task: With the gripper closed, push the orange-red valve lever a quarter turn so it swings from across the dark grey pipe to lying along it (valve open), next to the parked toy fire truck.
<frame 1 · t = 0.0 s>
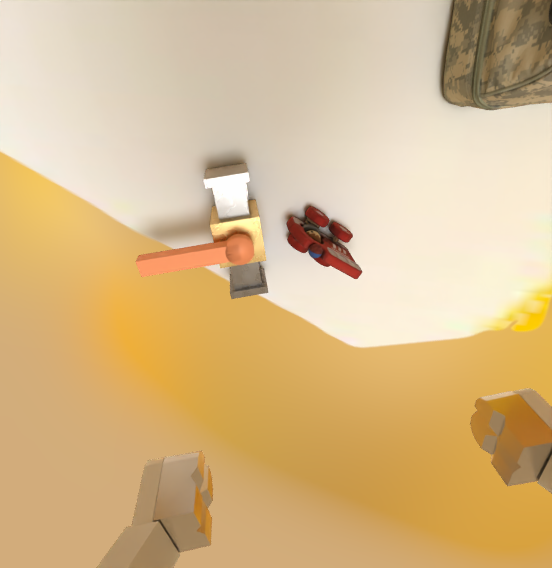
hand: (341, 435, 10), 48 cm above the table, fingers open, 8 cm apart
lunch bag: (530, 27, 47), on the table
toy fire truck: (316, 231, 59), on the table
pipe valve: (237, 223, 57), on the table
lever: (197, 256, 48), point 10 cm above the table, hinge at -90.0°
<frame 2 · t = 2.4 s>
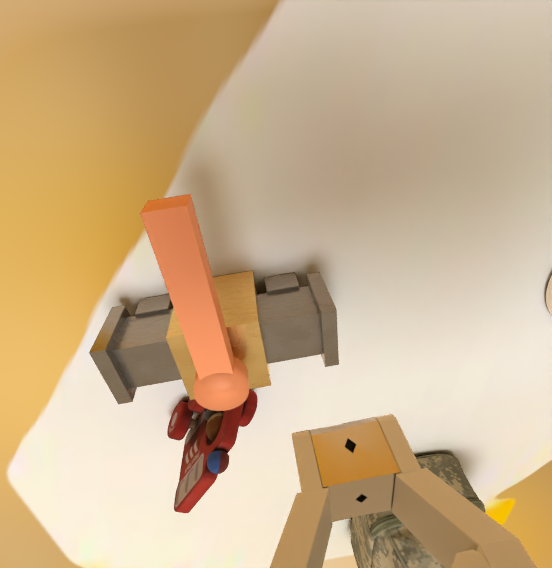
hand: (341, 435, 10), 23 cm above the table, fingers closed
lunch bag: (399, 494, 59), on the table
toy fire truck: (213, 397, 41), on the table
pipe valve: (223, 306, 34), on the table
lever: (202, 319, 23), point 10 cm above the table, hinge at -90.0°
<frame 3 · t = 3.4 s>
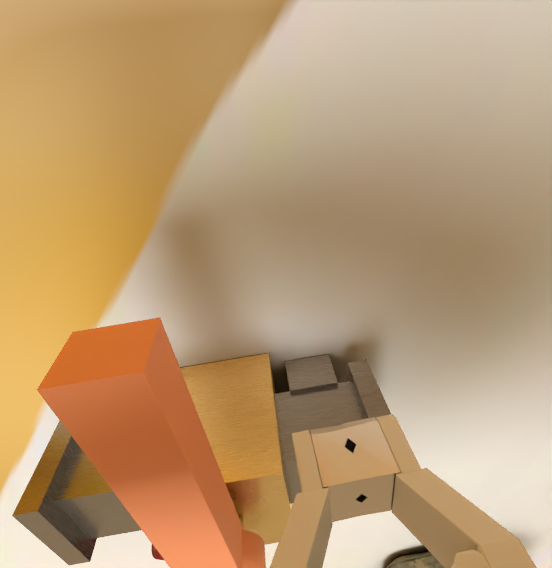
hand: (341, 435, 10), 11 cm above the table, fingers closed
pipe valve: (226, 396, 24), on the table
lever: (189, 506, 13), point 10 cm above the table, hinge at -90.0°
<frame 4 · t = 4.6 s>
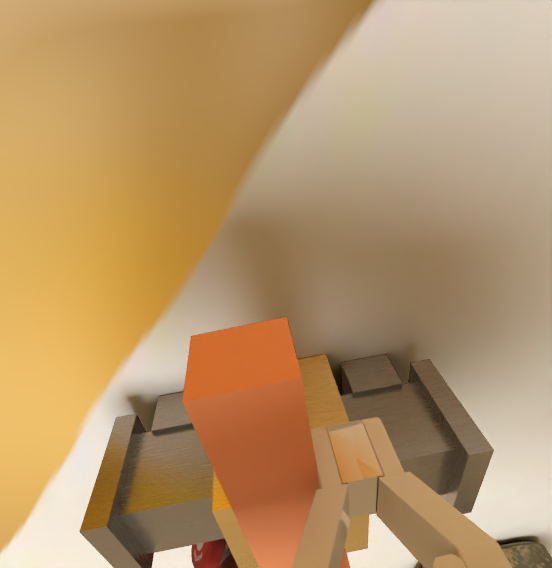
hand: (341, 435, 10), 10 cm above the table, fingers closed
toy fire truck: (251, 500, 31), on the table
pipe valve: (278, 400, 24), on the table
lever: (288, 520, 12), point 10 cm above the table, hinge at -88.4°, touching gripper
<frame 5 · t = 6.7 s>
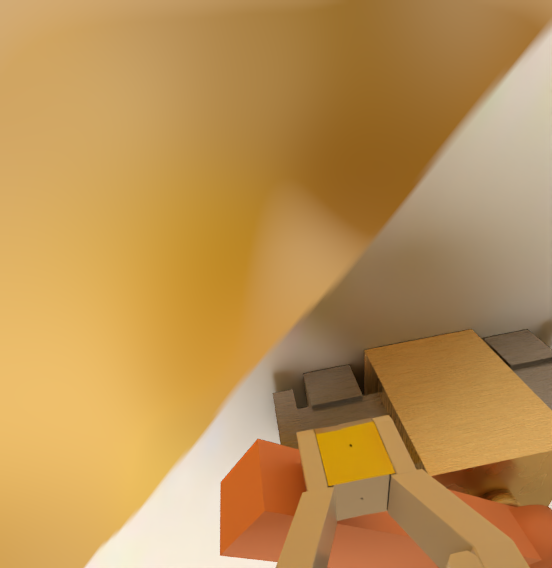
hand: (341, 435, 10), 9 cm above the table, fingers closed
pipe valve: (414, 377, 23), on the table
lever: (429, 530, 13), point 10 cm above the table, hinge at -39.7°, touching gripper
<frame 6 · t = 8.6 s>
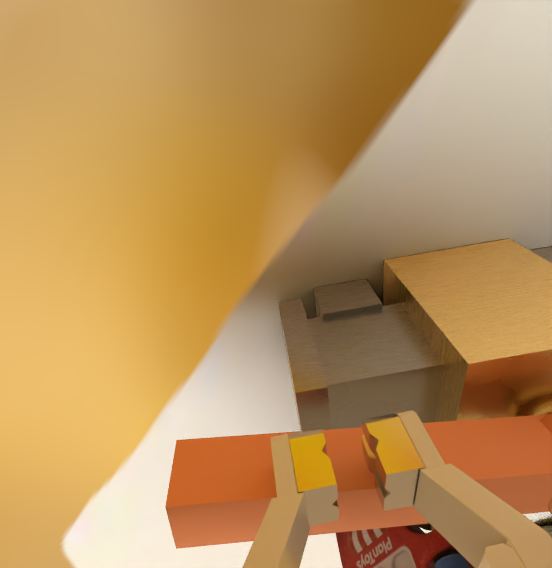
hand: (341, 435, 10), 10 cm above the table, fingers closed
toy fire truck: (371, 439, 28), on the table
pipe valve: (439, 301, 21), on the table
lever: (421, 472, 11), point 10 cm above the table, hinge at -9.7°, touching gripper
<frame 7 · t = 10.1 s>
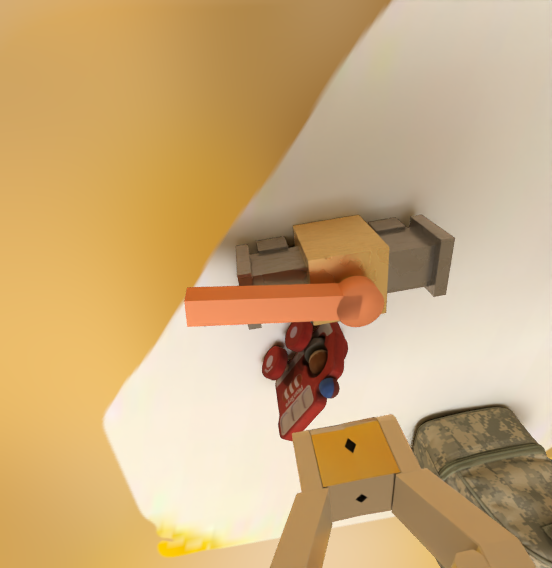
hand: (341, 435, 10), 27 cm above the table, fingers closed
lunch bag: (452, 451, 62), on the table
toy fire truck: (301, 343, 44), on the table
pipe valve: (327, 250, 37), on the table
lever: (286, 303, 28), point 10 cm above the table, hinge at -9.7°
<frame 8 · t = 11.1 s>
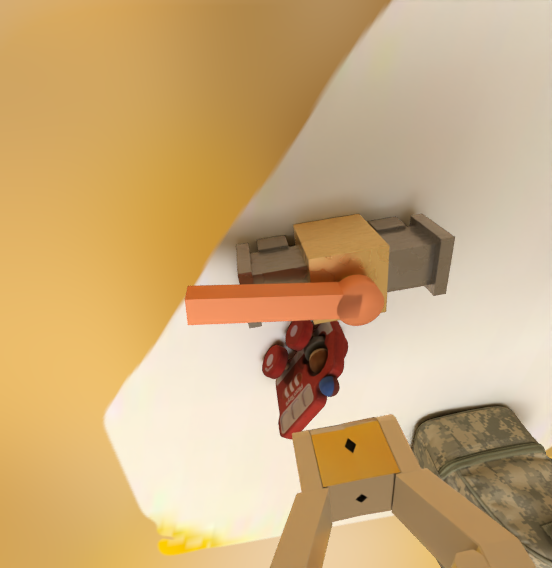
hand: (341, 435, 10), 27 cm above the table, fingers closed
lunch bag: (452, 450, 62), on the table
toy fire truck: (301, 342, 44), on the table
pipe valve: (327, 249, 38), on the table
lever: (286, 302, 28), point 10 cm above the table, hinge at -9.7°
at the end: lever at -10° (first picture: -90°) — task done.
